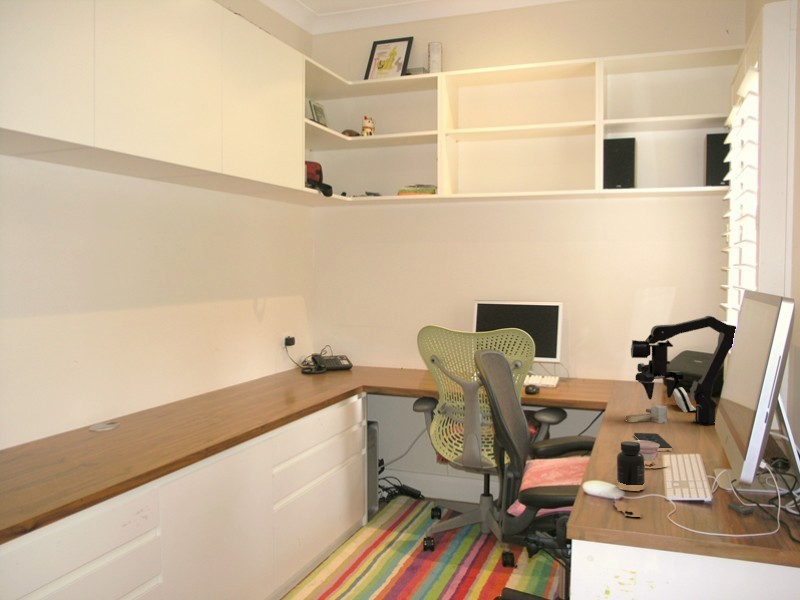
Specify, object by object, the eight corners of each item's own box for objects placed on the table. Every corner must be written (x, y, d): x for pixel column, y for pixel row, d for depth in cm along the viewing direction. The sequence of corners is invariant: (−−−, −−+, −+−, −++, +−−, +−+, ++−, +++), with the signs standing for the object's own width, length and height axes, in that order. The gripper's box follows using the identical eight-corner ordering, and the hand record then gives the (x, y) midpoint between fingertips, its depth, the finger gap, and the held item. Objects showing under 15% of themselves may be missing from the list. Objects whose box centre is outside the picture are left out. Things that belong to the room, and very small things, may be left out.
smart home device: (657, 432, 224) (673, 447, 204) (657, 437, 224) (673, 453, 204) (633, 432, 225) (646, 446, 205) (633, 437, 225) (646, 452, 205)
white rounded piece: (697, 413, 263) (688, 389, 263) (685, 416, 264) (677, 393, 264) (689, 405, 279) (681, 383, 279) (678, 408, 280) (670, 386, 281)
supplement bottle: (638, 484, 172) (638, 439, 171) (649, 492, 165) (649, 446, 164) (613, 484, 171) (613, 440, 171) (622, 493, 164) (622, 446, 164)
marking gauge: (667, 422, 246) (667, 406, 246) (658, 423, 244) (658, 407, 244) (651, 418, 254) (651, 403, 254) (643, 418, 252) (643, 403, 252)
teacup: (615, 461, 194) (615, 441, 193) (645, 456, 199) (645, 437, 198) (645, 472, 183) (645, 450, 182) (676, 467, 188) (676, 446, 187)
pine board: (658, 419, 250) (658, 414, 250) (631, 422, 246) (631, 417, 245) (651, 418, 253) (652, 413, 253) (625, 420, 249) (625, 415, 249)
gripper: (663, 354, 257) (663, 393, 258) (625, 357, 251) (625, 396, 251) (684, 357, 247) (684, 397, 247) (645, 360, 240) (645, 401, 241)
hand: (659, 398), depth 247 cm, fingers open, 9 cm apart
